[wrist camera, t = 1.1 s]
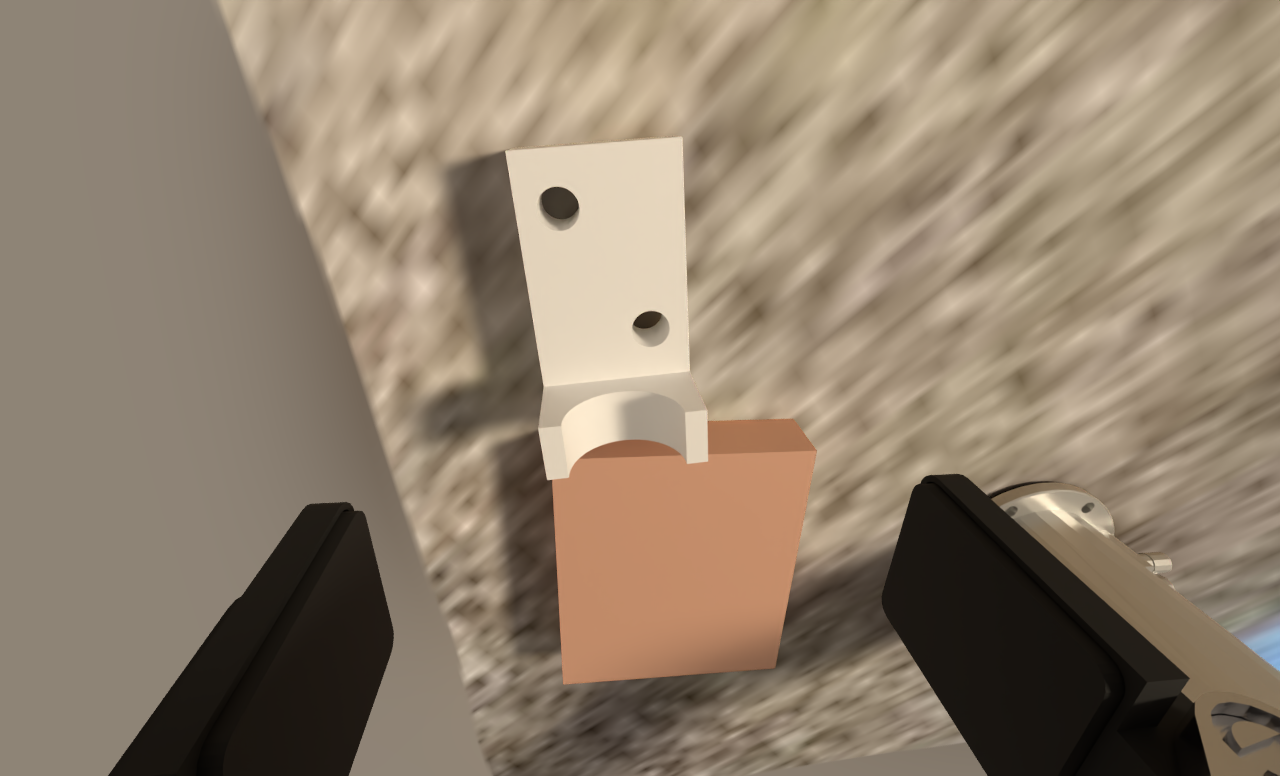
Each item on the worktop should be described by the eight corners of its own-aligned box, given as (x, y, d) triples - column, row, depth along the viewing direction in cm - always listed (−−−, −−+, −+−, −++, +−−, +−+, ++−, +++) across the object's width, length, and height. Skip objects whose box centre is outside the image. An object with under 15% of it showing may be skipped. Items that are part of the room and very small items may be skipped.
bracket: (679, 387, 31) (708, 461, 24) (554, 401, 30) (547, 480, 24) (669, 135, 25) (702, 138, 18) (514, 147, 25) (490, 155, 18)
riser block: (790, 415, 33) (816, 450, 29) (757, 619, 40) (775, 668, 36) (554, 421, 31) (551, 459, 28) (564, 632, 38) (563, 684, 35)
